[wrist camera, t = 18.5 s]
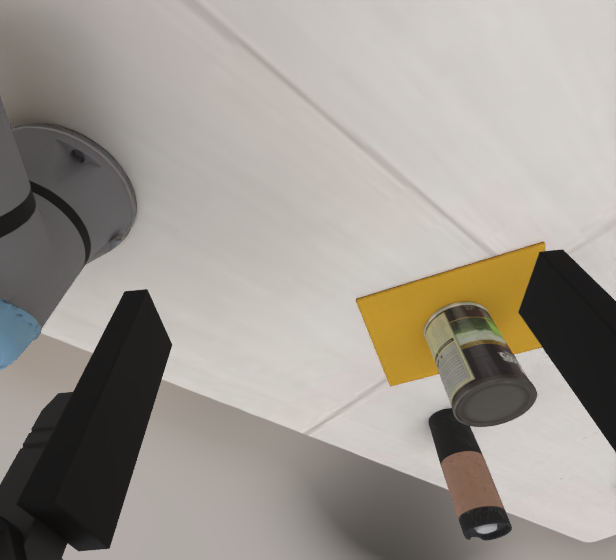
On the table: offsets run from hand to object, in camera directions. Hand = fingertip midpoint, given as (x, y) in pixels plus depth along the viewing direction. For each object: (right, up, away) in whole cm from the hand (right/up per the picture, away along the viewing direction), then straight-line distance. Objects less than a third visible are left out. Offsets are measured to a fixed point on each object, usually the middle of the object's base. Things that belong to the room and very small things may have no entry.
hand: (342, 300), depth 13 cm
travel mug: (+26, -27, +63) cm, 74 cm away
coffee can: (+22, -6, +46) cm, 51 cm away
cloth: (+22, -6, +46) cm, 52 cm away
